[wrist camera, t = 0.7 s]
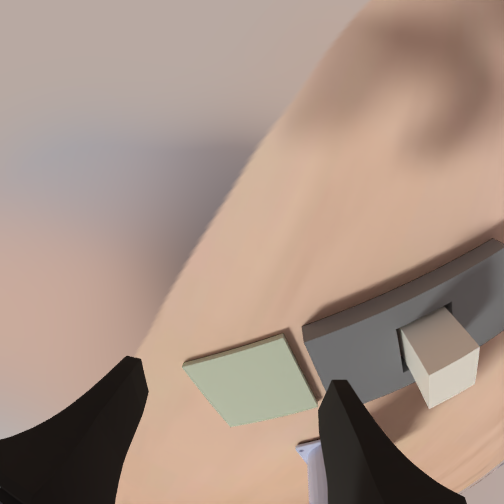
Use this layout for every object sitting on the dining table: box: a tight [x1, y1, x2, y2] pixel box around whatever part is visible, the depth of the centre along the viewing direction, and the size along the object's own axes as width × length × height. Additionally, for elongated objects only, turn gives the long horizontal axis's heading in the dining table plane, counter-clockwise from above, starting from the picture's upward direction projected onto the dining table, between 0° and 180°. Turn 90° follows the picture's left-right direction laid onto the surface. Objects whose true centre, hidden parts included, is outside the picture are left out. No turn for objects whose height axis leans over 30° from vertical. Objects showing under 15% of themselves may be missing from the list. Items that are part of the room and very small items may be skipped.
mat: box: [182, 333, 318, 427], centre depth 23 cm, size 9×9×1 cm
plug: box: [396, 306, 480, 409], centre depth 17 cm, size 4×4×7 cm
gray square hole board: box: [302, 239, 504, 404], centre depth 19 cm, size 9×18×2 cm, turn 115°
